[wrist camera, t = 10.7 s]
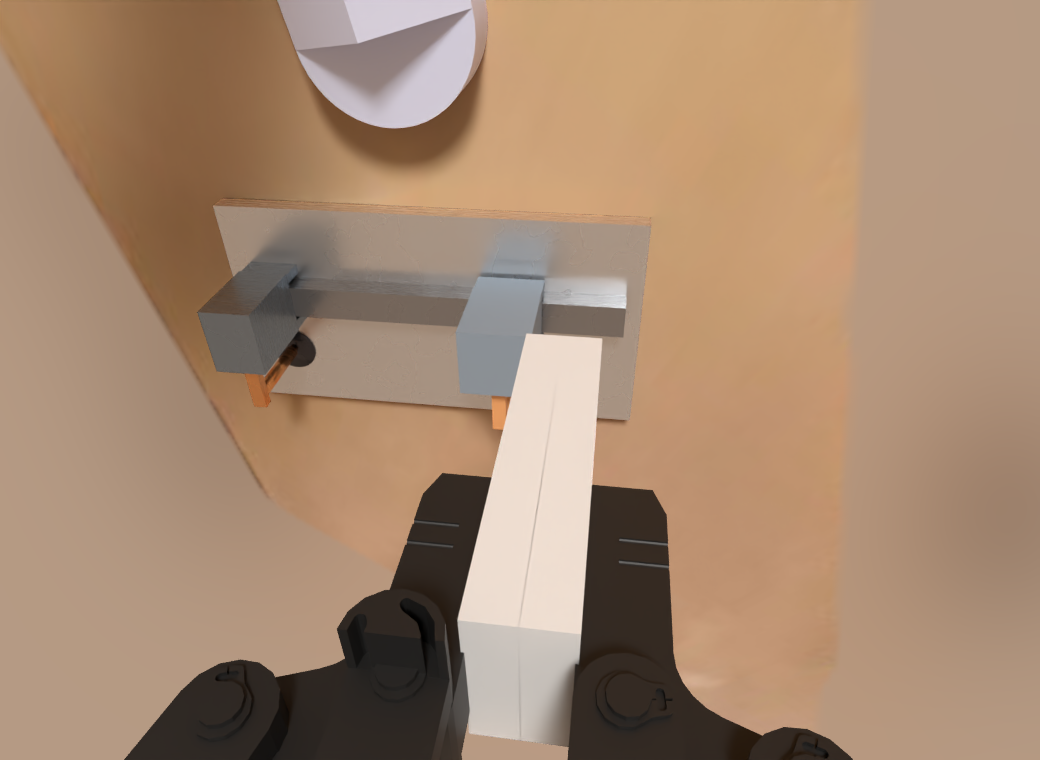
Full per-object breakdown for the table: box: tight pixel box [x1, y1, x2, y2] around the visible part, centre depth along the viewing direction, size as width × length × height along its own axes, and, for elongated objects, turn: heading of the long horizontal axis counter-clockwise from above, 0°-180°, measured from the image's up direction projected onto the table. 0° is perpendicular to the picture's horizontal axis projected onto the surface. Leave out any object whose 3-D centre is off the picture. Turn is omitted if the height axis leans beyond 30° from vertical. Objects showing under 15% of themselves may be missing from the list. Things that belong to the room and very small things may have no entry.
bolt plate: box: [197, 198, 651, 420], centre depth 42 cm, size 14×26×8 cm, turn 90°
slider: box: [456, 277, 545, 430], centre depth 40 cm, size 7×4×6 cm, turn 0°
